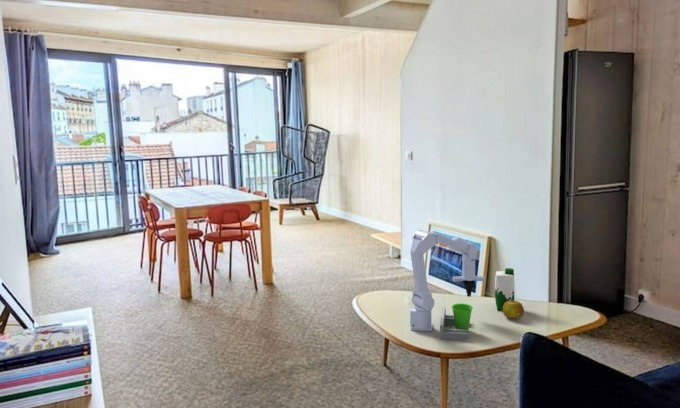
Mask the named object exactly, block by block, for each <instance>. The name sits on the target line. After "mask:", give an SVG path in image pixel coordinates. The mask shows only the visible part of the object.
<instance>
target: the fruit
mask: <svg viewBox="0 0 680 408" xmlns="http://www.w3.org/2000/svg"><path fill="white" fill-rule="evenodd" d="M524 309H525V308H524V306H523V303H521V302H520V301H519V300H514V301H507V302H505V303H504V305H503V311H502V313H503V315H504V317H506V318H508V319H519V318H520V319H521V318H522V316H523V315H524V314H525V310H524Z"/></svg>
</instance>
